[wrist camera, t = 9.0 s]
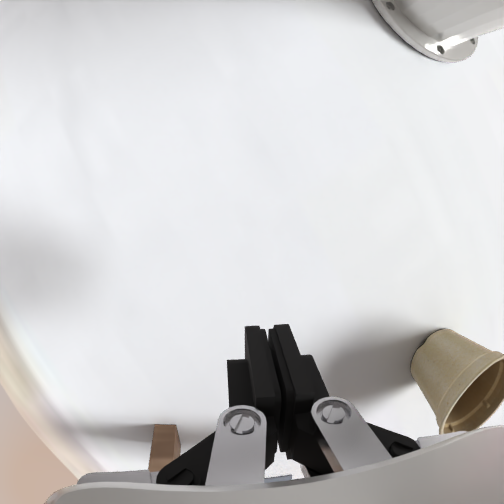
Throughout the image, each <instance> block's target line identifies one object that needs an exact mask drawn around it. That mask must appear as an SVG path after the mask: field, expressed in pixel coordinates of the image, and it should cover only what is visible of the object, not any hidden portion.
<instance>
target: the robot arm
mask: <svg viewBox="0 0 504 504" xmlns="http://www.w3.org/2000/svg"><path fill="white" fill-rule="evenodd" d="M372 2H373V3H374V5H375V7H376V9H377V10H378V11H379V13H380V14H381V15H382V17H383V18H384V20H385V21H386V22H387V23H388V24H389V25H390V26H391V28H392V29H393V30H394V31H395V32H396V33H397V34H398V35H399V36H400V37H401V38H403V39H404V40H405V41H406V42H407V43H408V44H410V45H411V46H412V47H414V48H415V49H416V50H418V51H419V52H421V53H423V54H425V55H426V56H428V57H430V58H433V59H435V60H437V61H441V62H446V63H456V62H459V61H463V60H465V59H467V58H469V57H471V55H472V54H473V53H474V52H475V50H476V47H477V43H478V36H481V35H484V34H487V33H490V32H493V31H496V30H499V29H502V28H504V0H372ZM227 371H228V391H229V408H228V409H226V410H224V411H223V412H222V413H221V414H220V416H219V419H218V423H217V428H216V431H215V432H214V433H212V434H211V435H209V436H208V437H207V438H205V439H204V440H202V441H201V442H200V443H198V444H197V445H195V446H194V447H193V448H191V449H190V450H188V451H187V452H185V453H184V454H182V455H181V456H179V457H178V458H176V459H175V460H173V461H172V462H170V463H169V464H167V465H166V466H164V467H163V468H162V469H161V470H160V471H157V472H150V471H149V470H138V471H123V472H95V473H88V474H86V475H84V476H82V477H81V478H80V479H79V481H78V483H77V485H73V486H68V487H65V488H62V489H60V490H58V491H56V492H54V493H53V494H52V495H51V496H50V497H49V498H48V499H47V501H46V502H45V503H44V504H504V425H499V426H489V427H484V428H479V429H476V430H472V431H469V432H467V431H458V432H453V433H447V434H441V435H434V436H427V437H419V438H418V439H417V441H414V440H413V439H411V438H409V437H406V436H403V435H401V434H398V433H395V432H392V431H389V430H386V429H383V428H381V427H378V426H375V425H373V424H370V423H367V422H365V420H364V419H363V418H362V416H361V415H360V413H359V412H358V411H357V409H356V408H355V407H354V405H353V404H352V403H351V402H349V401H347V400H346V399H343V398H340V397H330V396H329V394H328V391H327V389H326V387H325V384H324V382H323V380H322V378H321V375H320V373H319V371H318V368H317V366H316V364H315V361H314V359H313V357H312V355H300V352H299V350H298V347H297V344H296V342H295V339H294V337H293V334H292V331H291V329H290V326H289V324H281V325H274V328H273V329H269V333H268V339H267V335H266V331H265V329H260V327H259V326H245V359H239V360H227ZM277 442H278V444H279V448H280V452H286V456H287V460H288V459H293V460H294V461H296V462H298V463H300V464H301V465H300V467H301V471H302V473H303V475H304V477H305V478H302V479H295V480H287V481H278V482H269V483H264V476H265V470H266V469H267V468H268V467H269V466H270V465H271V464H272V463H273V462H274V455H275V453H276V451H277Z"/></svg>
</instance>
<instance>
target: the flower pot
mask: <svg viewBox="0 0 504 504" xmlns="http://www.w3.org/2000/svg"><path fill="white" fill-rule="evenodd" d="M411 374H412V376H413V378H414V379H415V381H416V382H417V384H418V386H419V387H420V389H421V391H422V392H423V394H424V396H425V398H426V399H427V401H428V403H429V404H430V406H431V408H432V410H433V412H434V413H435V415H436V420H437V424H438V426H439V435H441V434H447V433H453V432H458V431H467V432H469V431H472V430H476V429H478V428H479V427H480V426H482V425H483V424H484V423H485V422H486V421H487V420H488V419H489V418H490V417H491V416H492V415H493V414H494V413H495V412H496V410H497V409H498V408H499V407H500V405H501V404H502V402H503V401H504V354H502V353H500V352H497V351H491V350H489V349H487V348H485V347H483V346H481V345H479V344H477V343H475V342H473V341H471V340H469V339H467V338H466V337H464V336H462V335H460V334H458V333H456V332H454V331H452V330H450V329H442V330H439V331H437V332H435V333H433V334H432V335H430V336H429V337H428V338H427V340H426V342H425V343H424V344H423V345H422V346H421V347H420V348H418V349H417V351H416V352H415V355H414V357H413V359H412V363H411Z"/></svg>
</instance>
